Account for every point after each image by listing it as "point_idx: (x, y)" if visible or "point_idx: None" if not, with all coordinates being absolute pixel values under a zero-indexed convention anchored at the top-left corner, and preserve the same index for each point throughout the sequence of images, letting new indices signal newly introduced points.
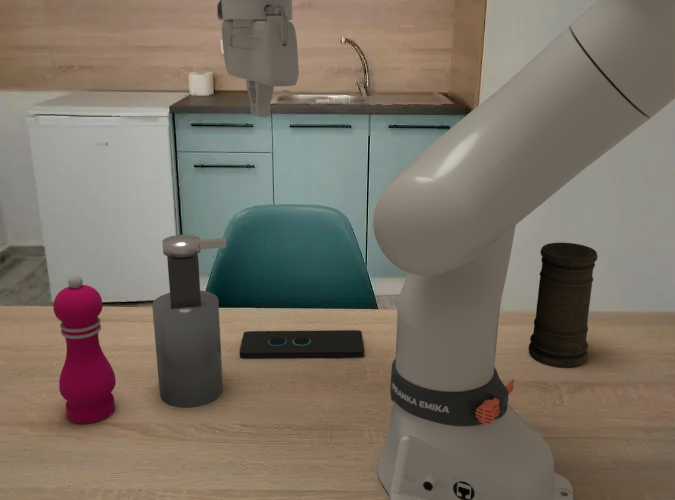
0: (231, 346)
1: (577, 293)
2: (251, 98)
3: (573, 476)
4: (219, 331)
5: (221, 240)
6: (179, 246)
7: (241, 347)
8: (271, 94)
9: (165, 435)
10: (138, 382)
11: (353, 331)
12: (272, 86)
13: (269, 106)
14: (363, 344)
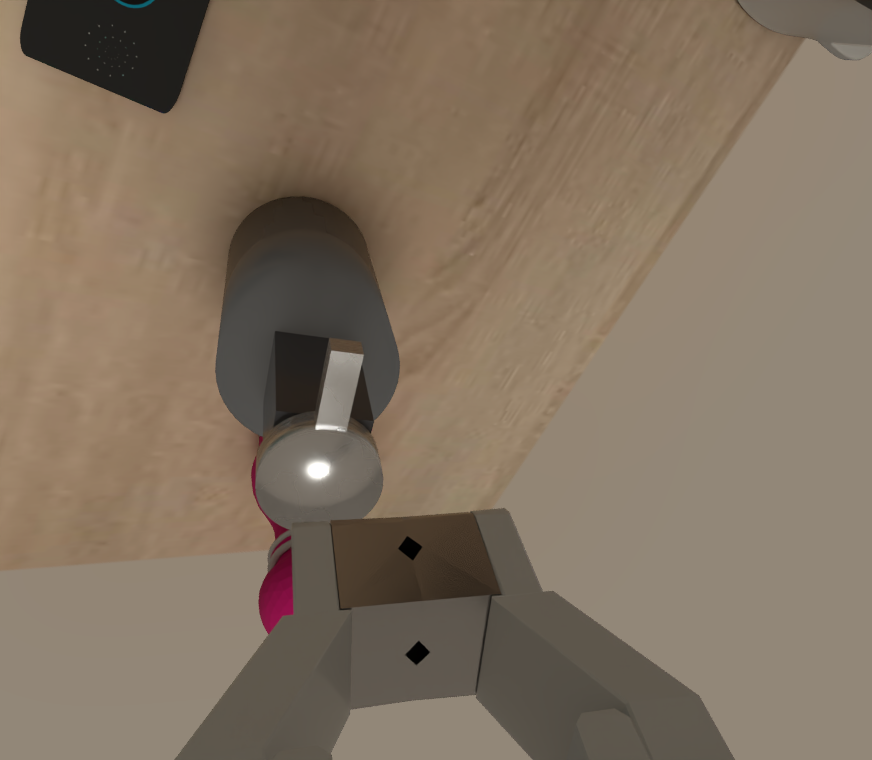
0: (83, 108)
1: None
2: (335, 740)
3: None
4: (340, 260)
5: (354, 367)
6: (378, 495)
7: (137, 99)
8: (647, 669)
9: (440, 338)
10: (216, 355)
11: None
12: (717, 750)
13: (531, 569)
14: None
